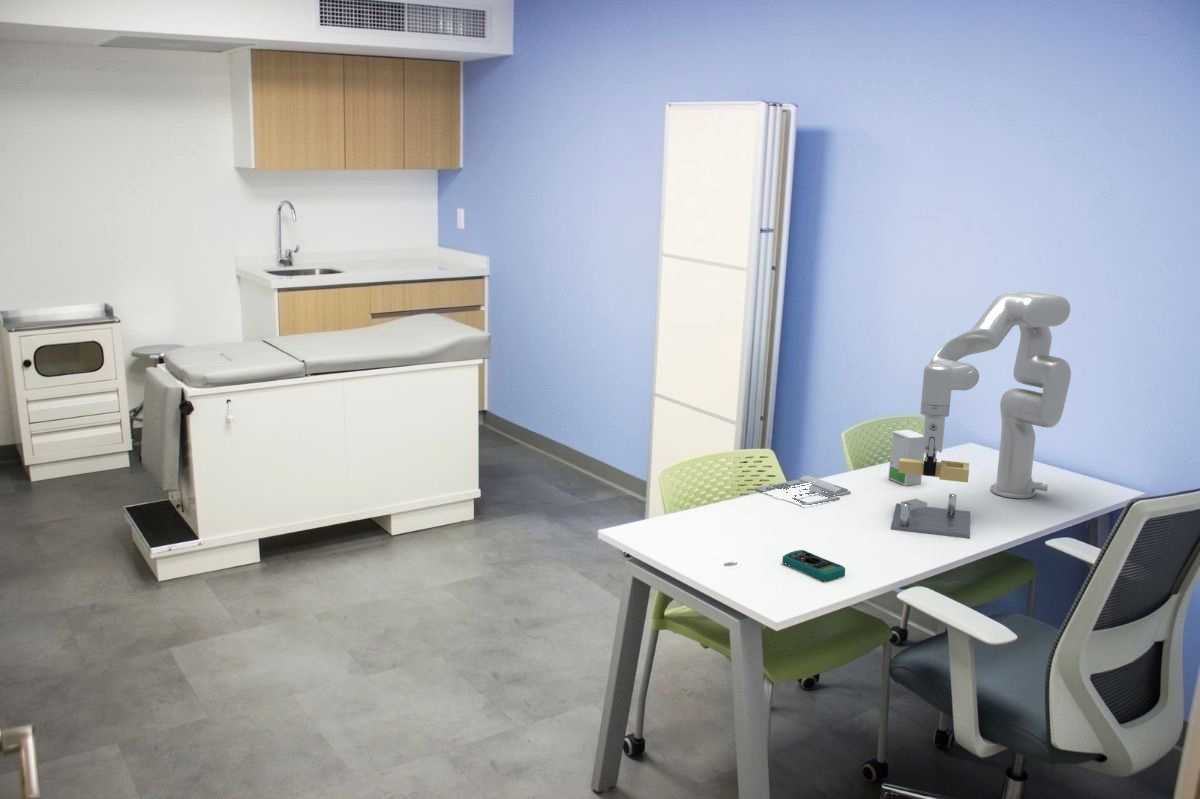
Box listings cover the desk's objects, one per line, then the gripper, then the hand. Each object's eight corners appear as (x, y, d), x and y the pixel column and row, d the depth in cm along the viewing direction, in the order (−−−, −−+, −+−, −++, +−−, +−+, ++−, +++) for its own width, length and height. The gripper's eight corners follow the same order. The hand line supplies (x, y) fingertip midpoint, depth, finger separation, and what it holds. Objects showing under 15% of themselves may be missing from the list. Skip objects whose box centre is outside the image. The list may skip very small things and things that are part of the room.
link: (968, 475, 291) (969, 463, 290) (967, 482, 284) (969, 470, 283) (899, 468, 297) (900, 456, 296) (897, 475, 290) (898, 462, 289)
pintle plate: (969, 514, 293) (971, 491, 292) (969, 538, 275) (971, 513, 273) (896, 506, 300) (897, 483, 298) (890, 529, 281) (892, 505, 280)
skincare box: (887, 479, 326) (891, 430, 322) (904, 476, 328) (908, 428, 325) (906, 486, 318) (909, 437, 315) (922, 484, 321) (926, 435, 317)
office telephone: (811, 472, 326) (859, 489, 309) (811, 480, 326) (859, 497, 310) (755, 483, 313) (802, 501, 297) (754, 491, 314) (801, 510, 297)
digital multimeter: (800, 558, 261) (801, 547, 261) (846, 577, 249) (847, 565, 249) (779, 564, 257) (780, 553, 256) (824, 584, 245) (825, 572, 245)
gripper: (948, 416, 278) (942, 483, 282) (950, 404, 293) (944, 467, 297) (919, 414, 280) (913, 480, 284) (922, 401, 295) (916, 464, 299)
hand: (929, 473), depth 290 cm, fingers closed on link, 3 cm apart
